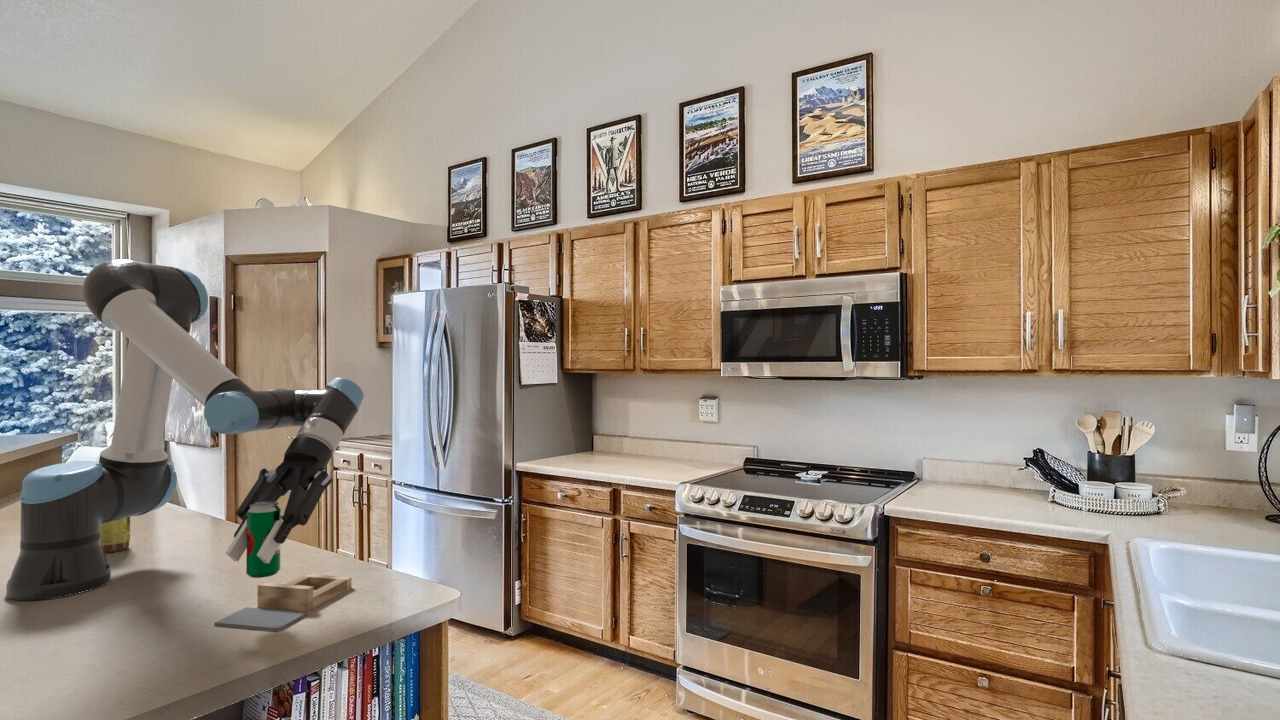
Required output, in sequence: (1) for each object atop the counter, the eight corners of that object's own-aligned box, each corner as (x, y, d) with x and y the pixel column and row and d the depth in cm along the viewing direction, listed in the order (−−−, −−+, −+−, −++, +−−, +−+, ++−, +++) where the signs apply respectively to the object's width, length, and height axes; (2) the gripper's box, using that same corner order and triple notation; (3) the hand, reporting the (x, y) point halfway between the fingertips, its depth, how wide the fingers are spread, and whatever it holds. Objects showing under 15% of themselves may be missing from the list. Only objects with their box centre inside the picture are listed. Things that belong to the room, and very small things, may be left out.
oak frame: (257, 607, 118) (257, 585, 118) (305, 583, 131) (306, 563, 131) (307, 611, 117) (308, 589, 117) (351, 587, 129) (351, 567, 129)
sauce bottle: (134, 549, 153) (136, 463, 153) (101, 555, 148) (103, 467, 148) (122, 544, 156) (124, 461, 157) (90, 550, 151) (92, 464, 151)
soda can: (265, 579, 110) (265, 507, 110) (238, 577, 111) (239, 506, 111) (287, 570, 115) (287, 501, 115) (261, 568, 116) (262, 500, 116)
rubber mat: (214, 625, 110) (214, 622, 110) (246, 610, 117) (246, 607, 117) (278, 631, 108) (278, 628, 108) (307, 615, 115) (307, 612, 115)
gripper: (261, 432, 124) (186, 543, 108) (348, 435, 121) (285, 549, 105) (280, 457, 129) (212, 566, 113) (364, 460, 126) (306, 572, 110)
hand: (247, 558), depth 109 cm, fingers closed on soda can, 5 cm apart
